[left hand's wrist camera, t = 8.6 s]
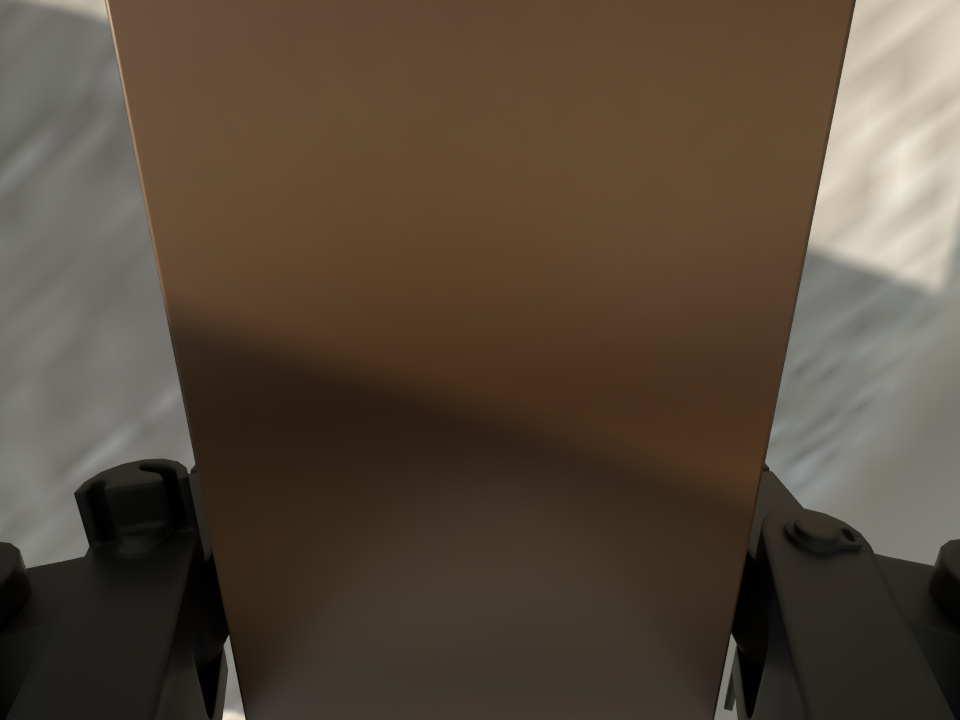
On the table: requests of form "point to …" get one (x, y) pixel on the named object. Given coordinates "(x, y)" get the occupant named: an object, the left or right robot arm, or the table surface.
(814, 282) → the table surface
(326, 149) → the beam
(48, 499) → the table surface
